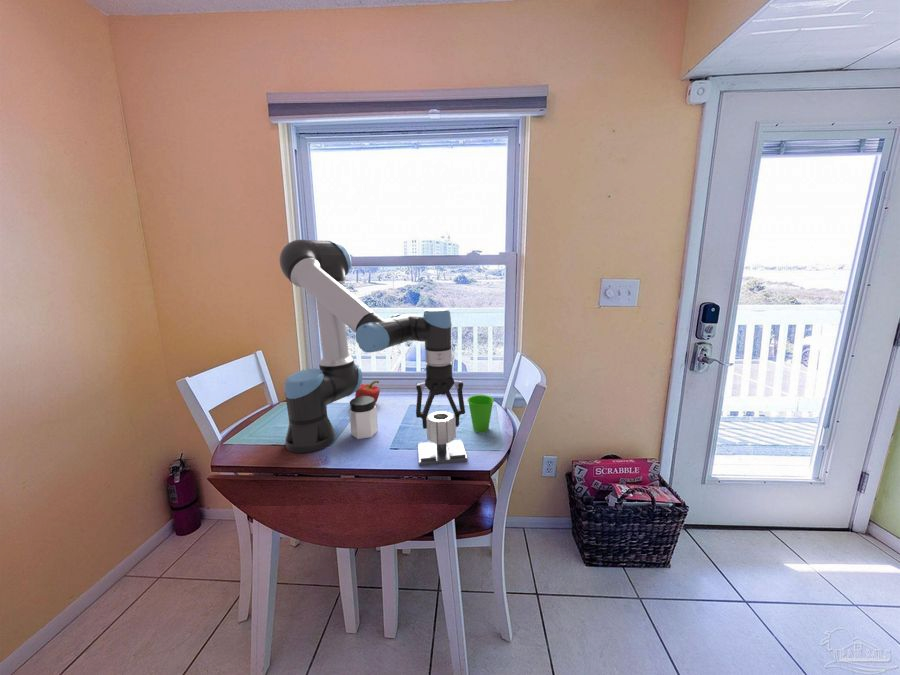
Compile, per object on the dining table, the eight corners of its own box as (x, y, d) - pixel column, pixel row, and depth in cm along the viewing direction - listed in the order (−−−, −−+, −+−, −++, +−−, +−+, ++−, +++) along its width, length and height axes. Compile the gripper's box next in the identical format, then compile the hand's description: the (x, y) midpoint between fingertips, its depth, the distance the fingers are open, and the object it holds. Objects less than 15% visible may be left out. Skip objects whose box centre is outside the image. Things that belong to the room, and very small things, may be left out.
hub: (430, 445, 100) (429, 422, 98) (429, 433, 106) (428, 412, 105) (454, 443, 100) (453, 420, 99) (451, 431, 107) (451, 410, 106)
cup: (496, 434, 116) (496, 404, 114) (469, 436, 116) (468, 405, 113) (491, 422, 125) (491, 394, 123) (466, 424, 125) (466, 395, 122)
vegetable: (375, 398, 150) (373, 376, 148) (386, 405, 142) (385, 382, 140) (351, 405, 144) (349, 382, 141) (362, 413, 136) (360, 389, 133)
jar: (382, 433, 119) (379, 400, 117) (360, 441, 114) (357, 407, 111) (368, 424, 126) (366, 393, 123) (347, 432, 120) (344, 400, 118)
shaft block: (419, 465, 99) (418, 439, 98) (418, 447, 109) (417, 423, 107) (467, 461, 101) (467, 435, 99) (462, 444, 111) (461, 420, 109)
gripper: (403, 368, 94) (407, 445, 99) (475, 364, 96) (476, 440, 101) (403, 361, 101) (407, 433, 106) (470, 357, 104) (471, 428, 109)
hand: (441, 436), depth 104 cm, fingers closed on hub, 7 cm apart
